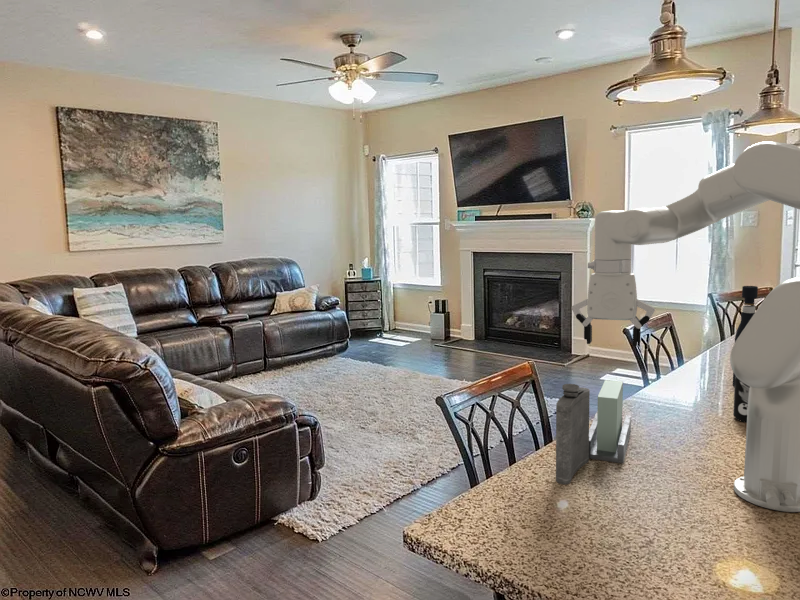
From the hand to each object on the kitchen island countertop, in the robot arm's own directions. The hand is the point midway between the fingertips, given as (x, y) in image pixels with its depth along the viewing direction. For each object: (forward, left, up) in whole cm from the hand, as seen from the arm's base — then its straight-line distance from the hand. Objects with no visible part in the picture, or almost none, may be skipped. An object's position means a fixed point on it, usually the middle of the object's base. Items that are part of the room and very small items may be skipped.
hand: (611, 344), depth 128 cm
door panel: (0, 0, -22) cm, 22 cm away
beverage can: (+29, -30, -24) cm, 48 cm away
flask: (-17, +6, -24) cm, 30 cm away
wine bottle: (+61, -32, -24) cm, 73 cm away
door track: (0, 0, -23) cm, 23 cm away
